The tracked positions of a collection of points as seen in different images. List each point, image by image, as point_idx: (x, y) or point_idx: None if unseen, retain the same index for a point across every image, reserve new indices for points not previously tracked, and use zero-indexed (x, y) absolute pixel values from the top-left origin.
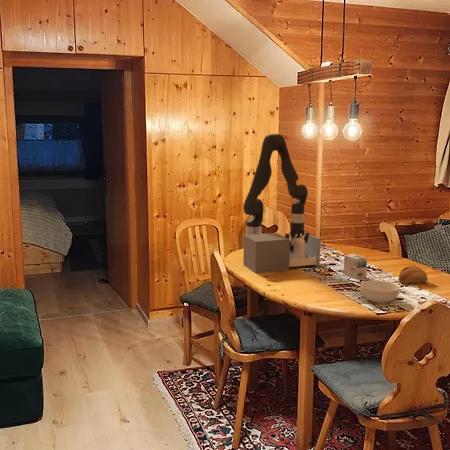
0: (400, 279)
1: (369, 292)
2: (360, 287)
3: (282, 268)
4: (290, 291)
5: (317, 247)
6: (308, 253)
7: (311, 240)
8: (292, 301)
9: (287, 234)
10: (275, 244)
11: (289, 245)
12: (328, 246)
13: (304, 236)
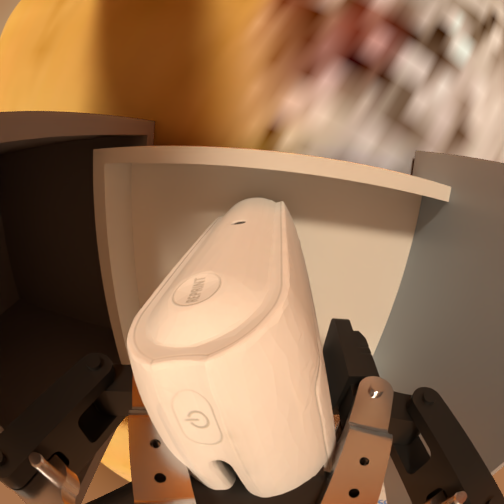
0: None
1: None
2: None
3: None
4: (113, 453)
5: (390, 462)
6: (430, 271)
7: (471, 428)
8: (110, 468)
9: (31, 497)
10: (3, 427)
11: (95, 469)
12: None
13: (452, 467)
